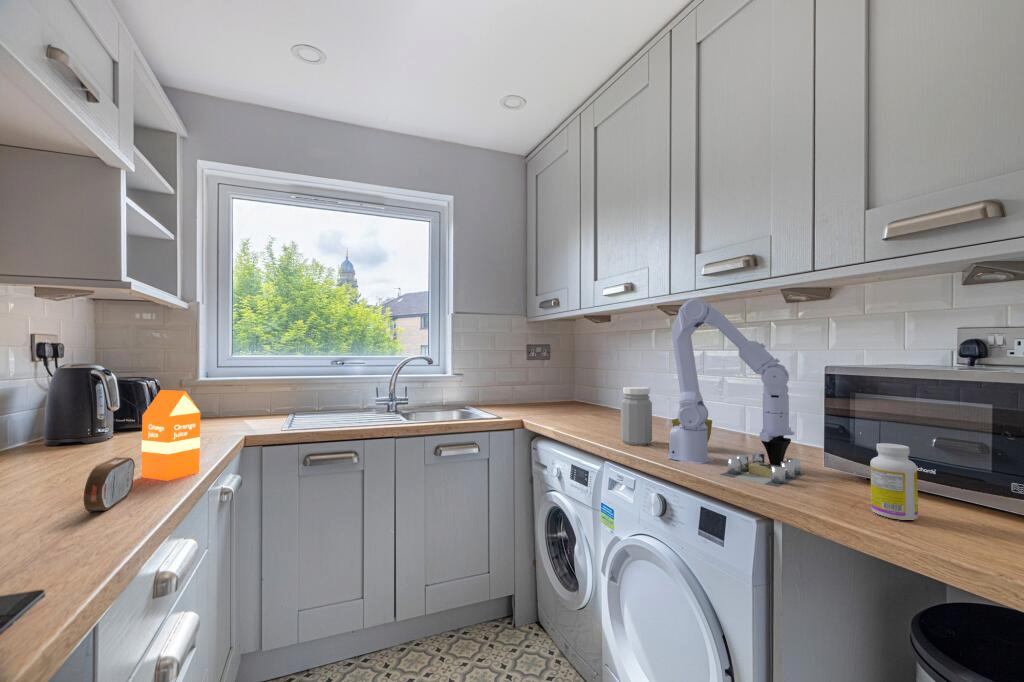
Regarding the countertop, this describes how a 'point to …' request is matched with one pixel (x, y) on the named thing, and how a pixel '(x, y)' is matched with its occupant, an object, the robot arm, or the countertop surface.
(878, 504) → the supplement bottle
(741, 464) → the spacers
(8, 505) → the countertop surface
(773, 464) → the robot arm
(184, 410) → the orange juice
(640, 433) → the jar
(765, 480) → the mat
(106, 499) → the tin
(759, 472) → the tan square block
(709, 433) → the flower pot
